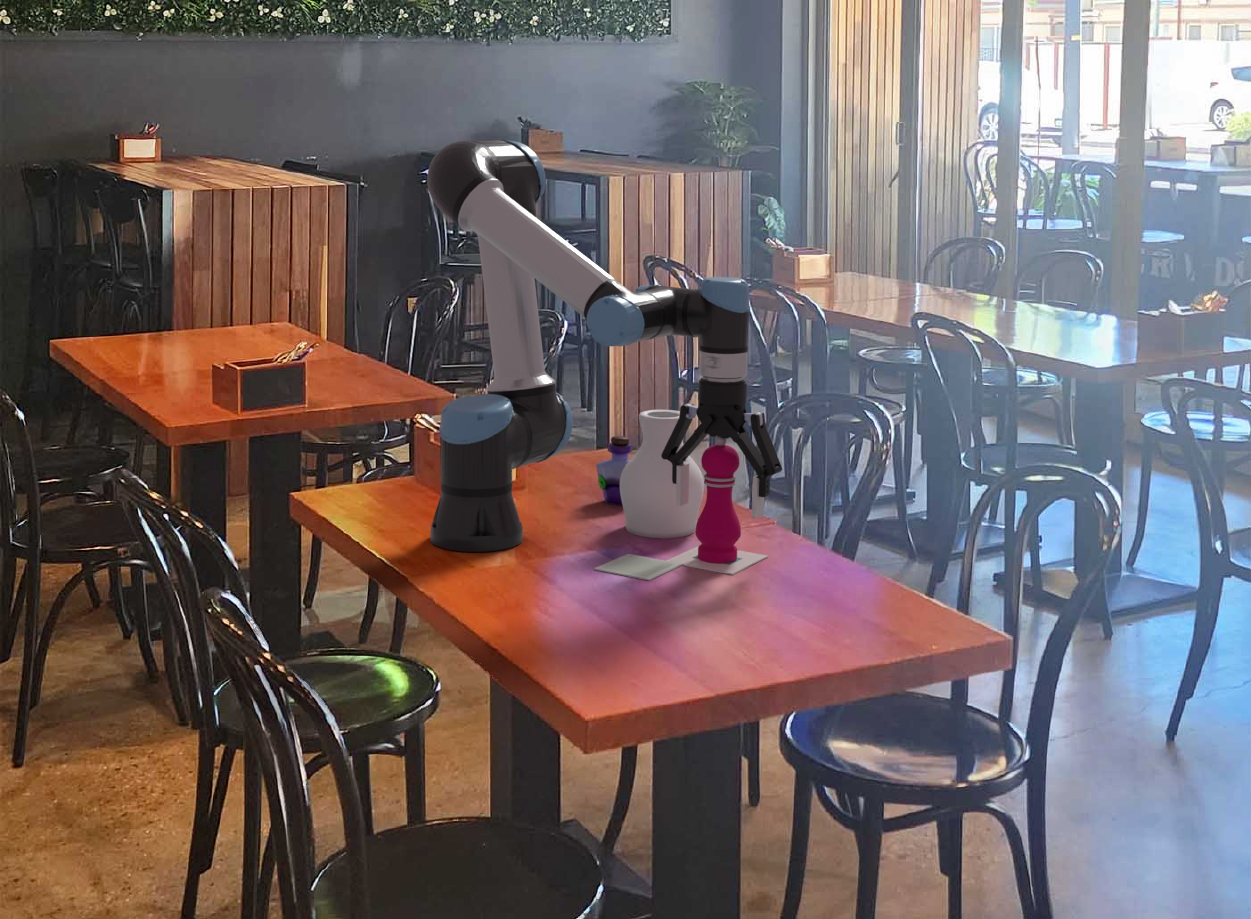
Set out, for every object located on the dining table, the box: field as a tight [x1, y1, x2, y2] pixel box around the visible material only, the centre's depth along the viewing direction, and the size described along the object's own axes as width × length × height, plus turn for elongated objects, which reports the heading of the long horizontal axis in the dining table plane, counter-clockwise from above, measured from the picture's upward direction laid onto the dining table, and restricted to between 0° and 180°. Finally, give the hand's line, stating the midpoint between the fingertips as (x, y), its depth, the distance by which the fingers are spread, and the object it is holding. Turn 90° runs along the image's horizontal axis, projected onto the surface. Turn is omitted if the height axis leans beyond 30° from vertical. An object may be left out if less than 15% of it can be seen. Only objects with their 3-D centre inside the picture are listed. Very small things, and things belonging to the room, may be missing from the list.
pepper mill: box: [694, 436, 742, 563], centre depth 255 cm, size 7×7×20 cm
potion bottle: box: [595, 435, 633, 506], centre depth 291 cm, size 9×9×12 cm
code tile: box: [665, 545, 769, 576], centre depth 257 cm, size 12×12×1 cm
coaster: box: [593, 553, 683, 582], centre depth 252 cm, size 10×10×1 cm
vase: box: [620, 409, 705, 539], centre depth 272 cm, size 14×14×20 cm
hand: (719, 510), depth 255 cm, fingers open, 13 cm apart
